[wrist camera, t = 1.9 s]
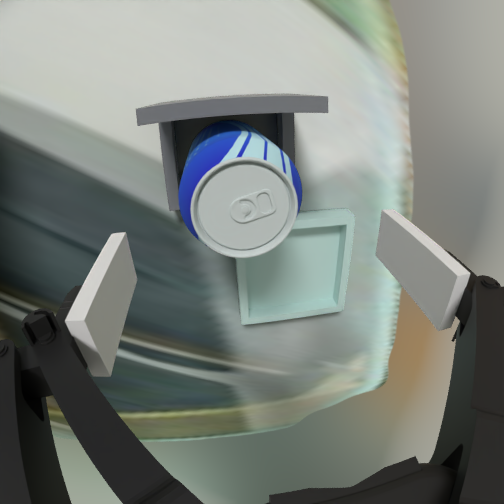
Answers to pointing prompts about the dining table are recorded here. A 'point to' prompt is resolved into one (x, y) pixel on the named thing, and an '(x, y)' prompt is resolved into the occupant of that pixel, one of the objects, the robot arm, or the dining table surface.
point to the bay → (220, 107)
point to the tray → (299, 270)
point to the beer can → (238, 190)
